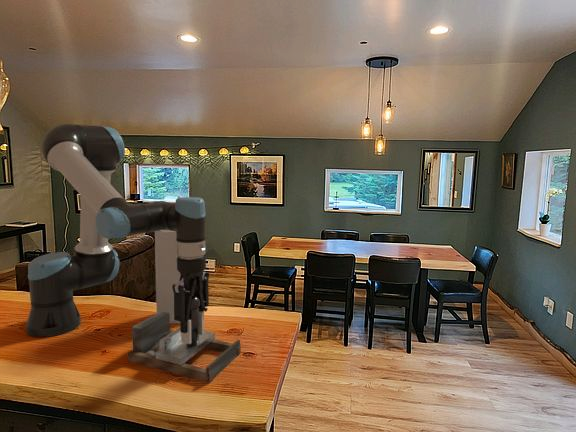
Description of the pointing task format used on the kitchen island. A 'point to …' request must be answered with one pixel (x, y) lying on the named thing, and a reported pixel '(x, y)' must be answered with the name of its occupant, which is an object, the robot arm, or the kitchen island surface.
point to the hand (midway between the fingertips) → (192, 337)
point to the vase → (166, 271)
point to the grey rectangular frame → (146, 339)
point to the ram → (182, 352)
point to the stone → (156, 346)
